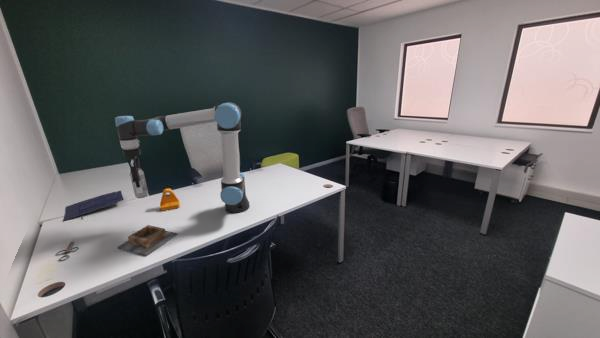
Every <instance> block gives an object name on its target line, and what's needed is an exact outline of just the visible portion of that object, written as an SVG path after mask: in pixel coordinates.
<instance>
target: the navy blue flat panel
mask: <svg viewBox="0 0 600 338" xmlns="http://www.w3.org/2000/svg"><path fill="white" fill-rule="evenodd" d="M121 201H124V197H123V193H122V190H118V191H113V192H109V193H106V194H105V193H104V194H101V195H98V196H95V197H91V198H89V199H85V200H81V201H79V202H76V203H72V204H70V205H67V206H65V213H64V216H63V221H62V222H65V221H68V220H71V219H74V218H77V217H80V216H82V215H85V214H88V213H92V212H94V211H97V210H100V209H103V208H107V207H110V206H113V205H115V204H117V203H119V202H121Z"/></svg>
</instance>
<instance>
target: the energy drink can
mask: <svg viewBox="0 0 600 338" xmlns="http://www.w3.org/2000/svg"><path fill="white" fill-rule="evenodd" d="M138 172H139V178H140V180H141V184H142V189H143V193H137V192H136V187H135V183H134V182H132V181H133V178H132V174H131V170H130V172H129V176H130V181H131V185H132V188H133V189H132V190H133V193H134V196H135V198H137V199H144V198H146V197H147V196H148V195H149V191H148V189H149V188H148V185H147V182H146V177H145V173H144V171H143V170H142V168H138Z"/></svg>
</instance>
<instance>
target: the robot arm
mask: <svg viewBox="0 0 600 338" xmlns="http://www.w3.org/2000/svg"><path fill="white" fill-rule="evenodd" d="M213 106H214V107H212V108H207V109H200V110H195V111H194V110H193V111H188V112H187V111H186V112H181V113H176V114H175V113H174V114H169V115H162V116H159V115H158V116H155V117H152V118H148V119H139V120H138V119H134V116H132V115H121V116H116V117H114V121H115V127H116V131H117V134H118V138H119V143H120V147H121V151H122V155H123V157H125V158H129V159H128V166H129V169H130V170H131V171H130V172H131V174H132V178H133V181H131V183H132V182H134V183H135V187H136V192H137V193H143V189H142V184H141V180H140V178H139V172H138V168H141V163H140V157H139V156H141V155H142V151H141V148H140V143H141V141H140V140H138V139H139V137H138V136H158V135H159V136H160V135H162V134H163V132H164V131H169V130H174V129H181V128H187V127H188V128H189V127H194V126H195V127H196V126H201V125H206V124H213V123H216V127H217V128H216V129H217V132H219V133H220V140H221V141H220V142H221V155H222V159H221V160H222V171H223V172H222V173H223V177H222V178H221V180H220V186H221V191H220V199H221V201H222V202H223V203H224V210H225V211H226V212H228V213H231V214H238V213H243V212H245V211H247V210H249V208H250V201H249V199H248V197H247V194H246V182H245V173H243V172H241V171H240V154H239V153H240V150H239V132H241V130H242V129H241V126H242V124H241V119H242V110H241V107H240V106H239V105H238V104H237V103H235V102H232V101H228V102H223V103H221V104H219V105H213ZM141 169H142V168H141Z"/></svg>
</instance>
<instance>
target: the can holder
mask: <svg viewBox="0 0 600 338" xmlns="http://www.w3.org/2000/svg"><path fill="white" fill-rule="evenodd" d="M177 235H178V233H177V232H173V231H170V230H166V228H164V227H160V226H155V225H149V224H147V225H146V226H144V227H143V228H140V229H139V230H138V231H136V232H134V233H132V234H131V235H129V236H127V240H126V241H125V242H122V244H120V245H118V246H117V249H118V250H121V251H124V252H125V251H126V252H129V253H133V254H136V255H140V256H143V257H147V256H149V255H151V254H152V253H153V252H155V251H156V250H158V249H159V248H161V247H162V246H163V245H164V244H165V245H166V243H168V242H169V241H171V240H172V239H174V238H175V237H177Z"/></svg>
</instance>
